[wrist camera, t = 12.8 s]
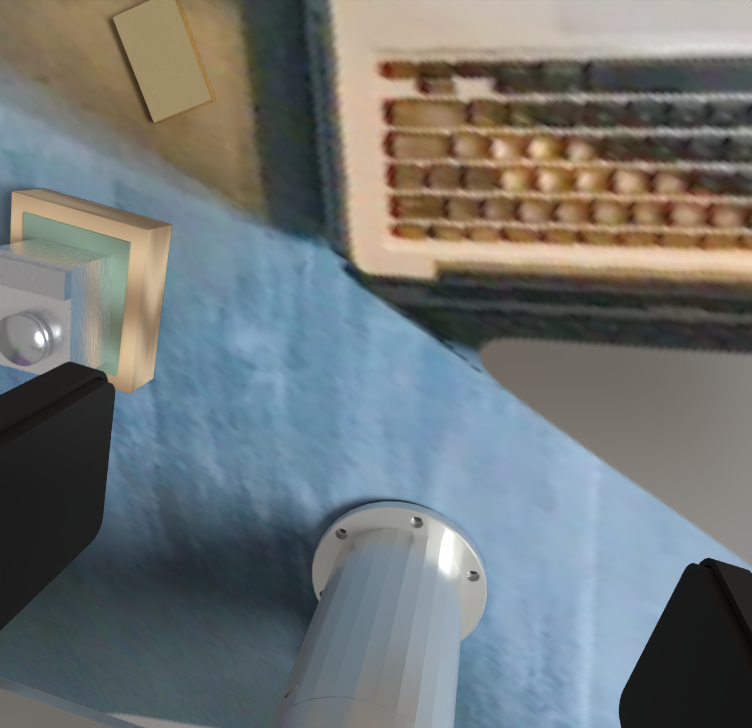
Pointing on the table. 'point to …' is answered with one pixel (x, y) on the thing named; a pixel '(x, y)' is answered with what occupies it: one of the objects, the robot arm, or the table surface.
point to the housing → (53, 305)
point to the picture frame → (129, 270)
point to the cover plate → (164, 58)
